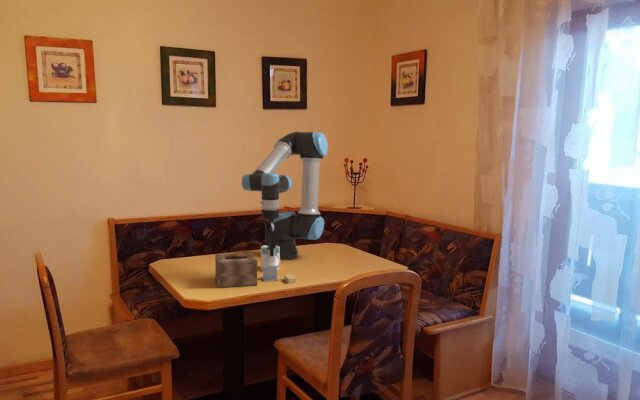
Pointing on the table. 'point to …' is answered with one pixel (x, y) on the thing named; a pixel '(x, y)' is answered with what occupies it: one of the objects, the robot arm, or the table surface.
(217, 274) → the coin box
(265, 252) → the teal rectangular block
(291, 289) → the table surface
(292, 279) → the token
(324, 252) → the table surface
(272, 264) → the white rounded piece
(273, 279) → the stand
